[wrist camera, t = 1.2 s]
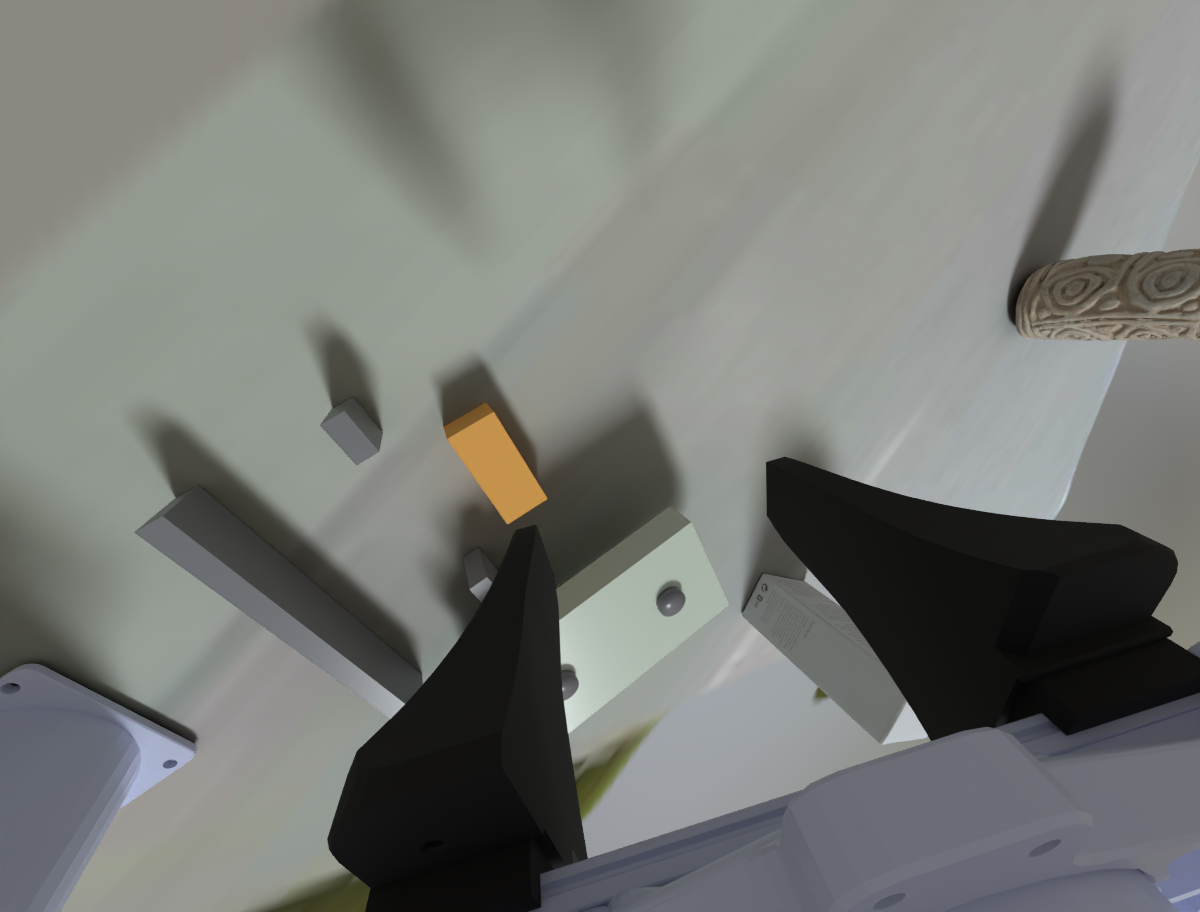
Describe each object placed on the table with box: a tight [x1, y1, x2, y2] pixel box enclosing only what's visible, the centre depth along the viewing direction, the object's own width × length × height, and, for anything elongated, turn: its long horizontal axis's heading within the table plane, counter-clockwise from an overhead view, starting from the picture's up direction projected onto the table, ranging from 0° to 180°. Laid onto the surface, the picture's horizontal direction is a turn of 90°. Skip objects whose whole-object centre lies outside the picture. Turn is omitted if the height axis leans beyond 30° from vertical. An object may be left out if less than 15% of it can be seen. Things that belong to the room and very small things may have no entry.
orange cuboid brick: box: [444, 402, 547, 525], centre depth 21 cm, size 2×5×2 cm, turn 26°
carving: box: [1016, 249, 1200, 341], centre depth 32 cm, size 6×8×12 cm
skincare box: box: [742, 574, 927, 745], centre depth 31 cm, size 6×4×12 cm
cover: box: [556, 506, 729, 734], centre depth 24 cm, size 7×15×6 cm, turn 117°
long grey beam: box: [134, 397, 498, 719], centre depth 20 cm, size 8×15×3 cm, turn 27°
